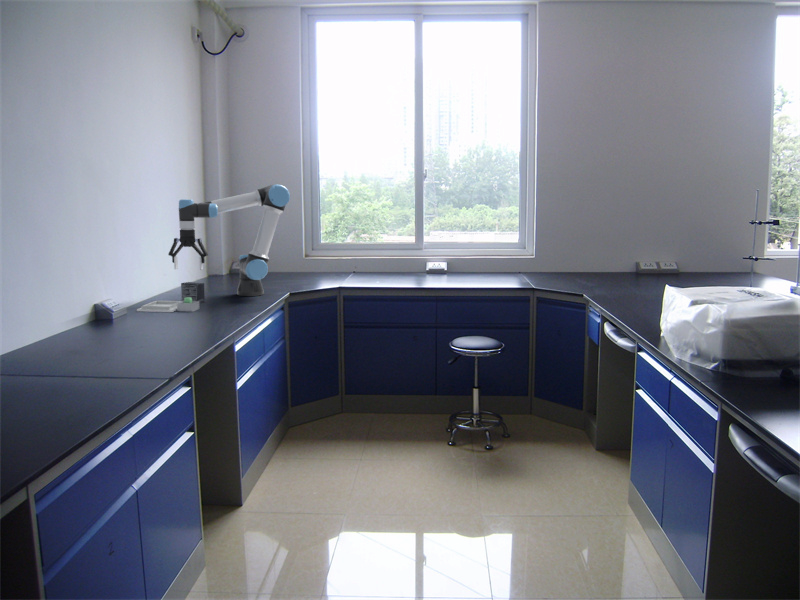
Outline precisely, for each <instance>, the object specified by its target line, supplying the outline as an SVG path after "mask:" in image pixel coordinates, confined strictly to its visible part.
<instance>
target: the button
mask: <svg viewBox="0 0 800 600" xmlns="http://www.w3.org/2000/svg"><path fill="white" fill-rule="evenodd" d="M184 303H192V298H191V297H187V298H184Z"/></svg>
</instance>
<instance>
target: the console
mask: <svg viewBox="0 0 800 600" xmlns="http://www.w3.org/2000/svg"><path fill="white" fill-rule="evenodd" d="M180 301H181V302H179V303H177V312H191V313H193V312H196V311H197V310H200V303H199V301H192V303H184V300H183V301H182V300H180Z"/></svg>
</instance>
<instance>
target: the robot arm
mask: <svg viewBox="0 0 800 600" xmlns="http://www.w3.org/2000/svg"><path fill="white" fill-rule="evenodd" d="M290 200H291V195H290V191H289V189H288V188H287V187H286V186H284V185H282V184H280V183H279V184H278V183H277V184H270V185H267V186H264V187H262V188H257V189H255V190H254V191H252V192H247V193H241V194H239V195H233V196H228V197H224V198H220V199H214V200H210V201H205V202H198V203H195V202H194V199H186V198H185V199H179V201H178V217H179V221H178V222H179V238H178V237H175V238H173V243H172V244H171V247H170V250H169V252H168V256H170V257H172V260H171V261H172V263H173V265H174V266H173V267H174V270H178V269H179V268H178V267H179V266H178V256H177V255H178V254H179V252H180V251H181V250H182V249H183V248H187V247H188V248H191V247H192V248H193V249H194V250H195V252H196V253H197V254H198V255H199V256H200V257H199V270H200V271H202V270H204V264H205V261H206V260H205V257H207V256H209V254H208V251H207V250H206V248H205V246H204V244H203V241H202V238H196V230H195V228H196V227H195V218H197V219H199V218H201V219H203V218H204V219H205V218H208V219H209V218H210V219H211V218H212V219H214V218H217V217H218V215H219V214H223V213H227V212H233V211H237V210H241V209H242V210H243V209H247V208H251V207H255V206H256V207H257V206H259V207H263V208H264V211H263V214H262V218H261V222H260V225H259V228H258V230H257V235H256V238H255V241H254V244H253V248H252V250H251V251H249V252H248V254H241V255H239V259H238V262H239V263H238V265H239V266H238V267H239V282H238V286H237V290H236V295H237V296H240V297H258V296H263V295H264V294H265V290H264V286H263V283H262V281H261V280H262V279H264V278H265V277H266V276H267V274H268V272H269V267H268V264H269V262H270V257H269V252H270V249H271V245H272V242H273V238H274V235H275V232H276V229H277V225H278V222H279V218H280V217H281V216H280V215H281V214H283V213H284V212H285V209H286V205H288V203H289V202H290ZM179 242H180V244H179V246H178V243H179ZM196 243H197V244H198V246H197V245H196Z"/></svg>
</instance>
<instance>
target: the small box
mask: <svg viewBox="0 0 800 600" xmlns="http://www.w3.org/2000/svg"><path fill="white" fill-rule="evenodd" d="M180 285H181V288H180V289H181V301H183V300H184V298H187V297H191V298H192V301H199V304H201V303H205V302H206V299H205V297H206V296H205V282H195V281H193V282H192V281H187V282H181V284H180Z"/></svg>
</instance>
